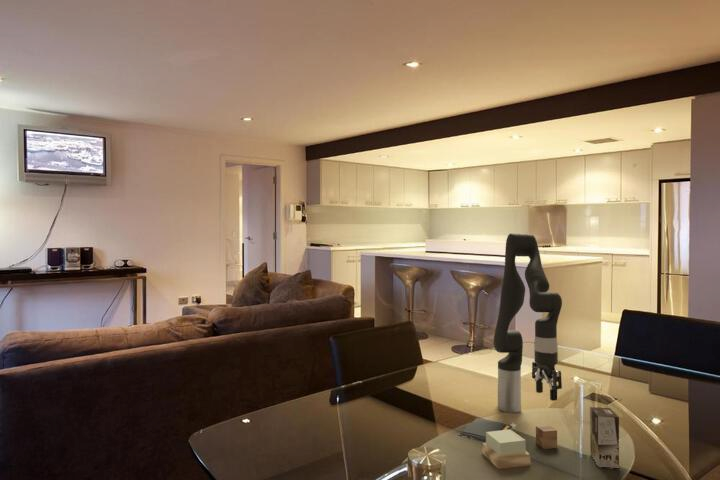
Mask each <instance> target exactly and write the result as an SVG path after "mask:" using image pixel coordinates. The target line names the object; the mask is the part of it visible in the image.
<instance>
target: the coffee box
mask: <svg viewBox="0 0 720 480" xmlns="http://www.w3.org/2000/svg"><path fill="white" fill-rule="evenodd" d="M589 432H590V433H589V435H590V437H589V439H590V443H589V444H590V456H591V455H592V457H593V458H592V457H591V458H592V460H593V459H594V460H595V461H594V460H593V461H594V463H595V462H596V463H595V464H596V465H598V466H603V467H617V468H619V469H620V417H619V416H618V414H617V413H616V412H615V411H613V410H612V408H611V407H602V406H601V407H598V406H597V407H592V406H590V407H589ZM598 466H597V467H598Z"/></svg>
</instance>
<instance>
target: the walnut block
mask: <svg viewBox="0 0 720 480" xmlns="http://www.w3.org/2000/svg"><path fill="white" fill-rule="evenodd" d="M535 444H536V445H538V446H539V447H541V448H542V449H545V450H548V449H557V448H558V429H556V428H554V426H553V427H552V426H551V425H550V424H542V425H535Z"/></svg>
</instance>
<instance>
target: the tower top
mask: <svg viewBox="0 0 720 480" xmlns="http://www.w3.org/2000/svg"><path fill="white" fill-rule="evenodd" d="M485 443H486V445H488V446H489V447H490V448H491V449H492V450H494V451H495V452H496V453H497V454H498V455H500V456H504V455H512V454H520V453H526V451H527V449H526V447H527V445H526V439H524V438H523V437H521V435H519V434H517V432H515V431H513V430H512V429H509V430H500V431H491V432H486V442H485Z"/></svg>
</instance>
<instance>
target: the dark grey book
mask: <svg viewBox="0 0 720 480" xmlns="http://www.w3.org/2000/svg"><path fill="white" fill-rule="evenodd" d="M473 420H474V419H473ZM473 420H472V421H473ZM472 421H471V422H472ZM471 422H470V423H471ZM470 423H469V424H470ZM469 424H468V425H469ZM468 425H467V426H468ZM467 426H466V428H465V427H464V428H465V429H464V428H462V430H463V431H462V430H461V431H462V432H461V433H460V434H461V435H463V436H467V437H472V438H474V439H473V440H475V439H476V440H475V441H480V442H482V443H486V432H491V431H500V430H509V429H510V430H512V428H513V425H510V424H507V423H503V422H499V421H496V420H495V421H494V420H490V419H485V418H479V417H475V420H474V421H473V422H472V423H471V424H470V425H469V426H468V427H467Z"/></svg>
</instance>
